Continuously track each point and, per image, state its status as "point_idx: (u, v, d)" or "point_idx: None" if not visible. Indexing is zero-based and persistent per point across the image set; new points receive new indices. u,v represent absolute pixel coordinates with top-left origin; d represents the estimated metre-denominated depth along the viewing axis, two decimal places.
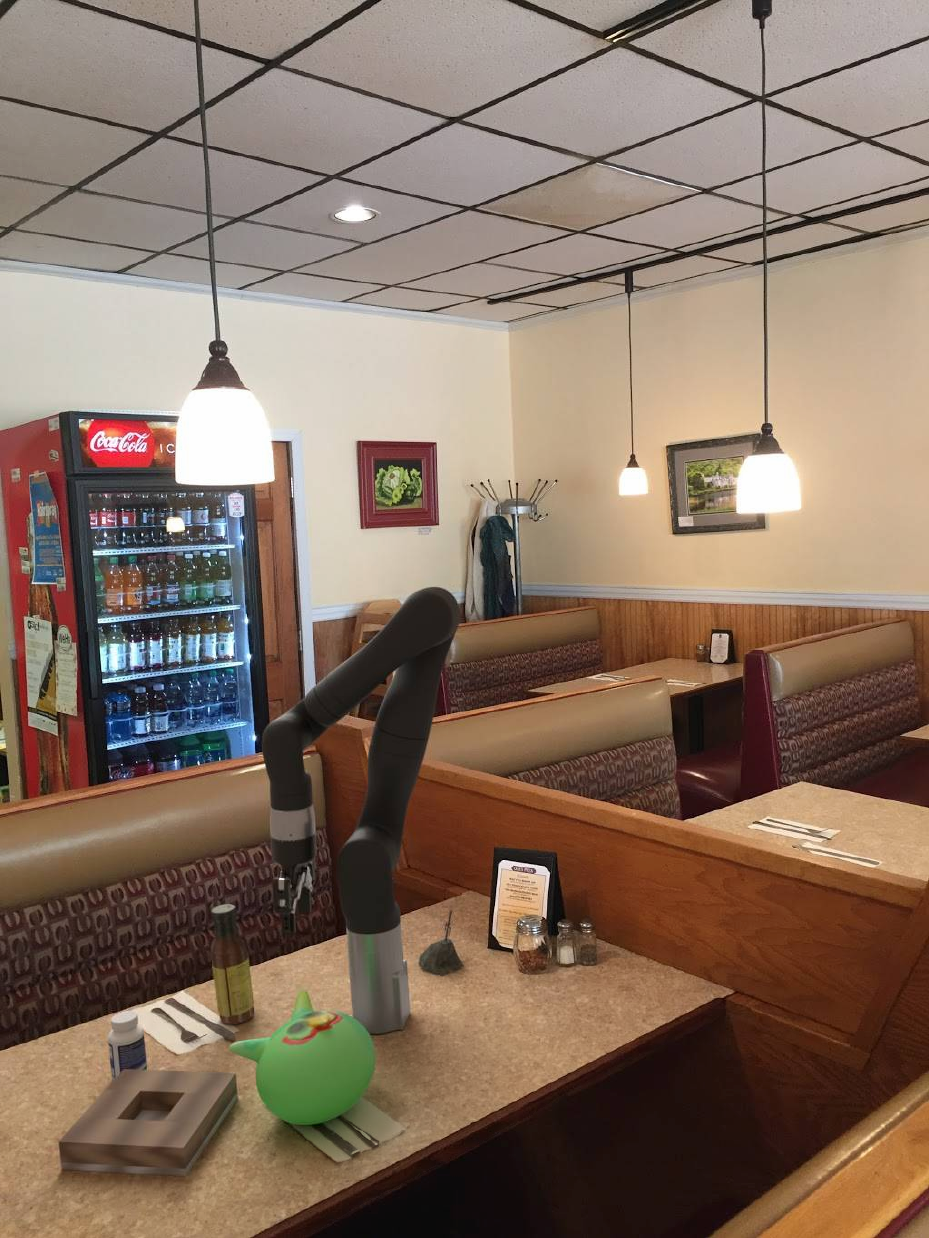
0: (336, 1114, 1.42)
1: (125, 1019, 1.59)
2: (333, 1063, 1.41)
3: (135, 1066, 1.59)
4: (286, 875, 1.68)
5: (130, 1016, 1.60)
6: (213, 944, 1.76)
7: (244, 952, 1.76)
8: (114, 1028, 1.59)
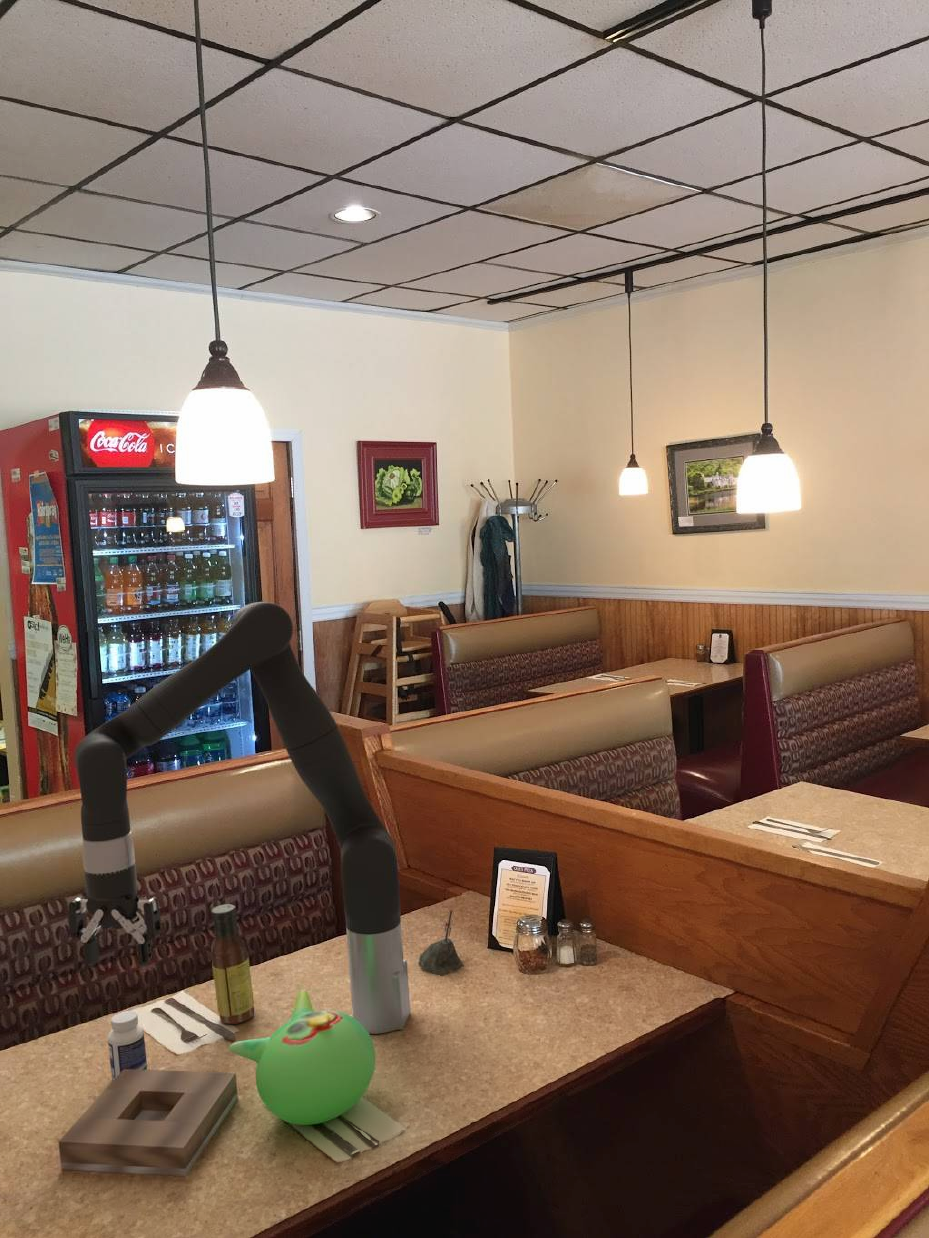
0: (336, 1114, 1.42)
1: (125, 1019, 1.59)
2: (333, 1063, 1.41)
3: (135, 1066, 1.59)
4: (140, 900, 1.58)
5: (130, 1016, 1.60)
6: (213, 944, 1.76)
7: (244, 952, 1.76)
8: (114, 1028, 1.59)
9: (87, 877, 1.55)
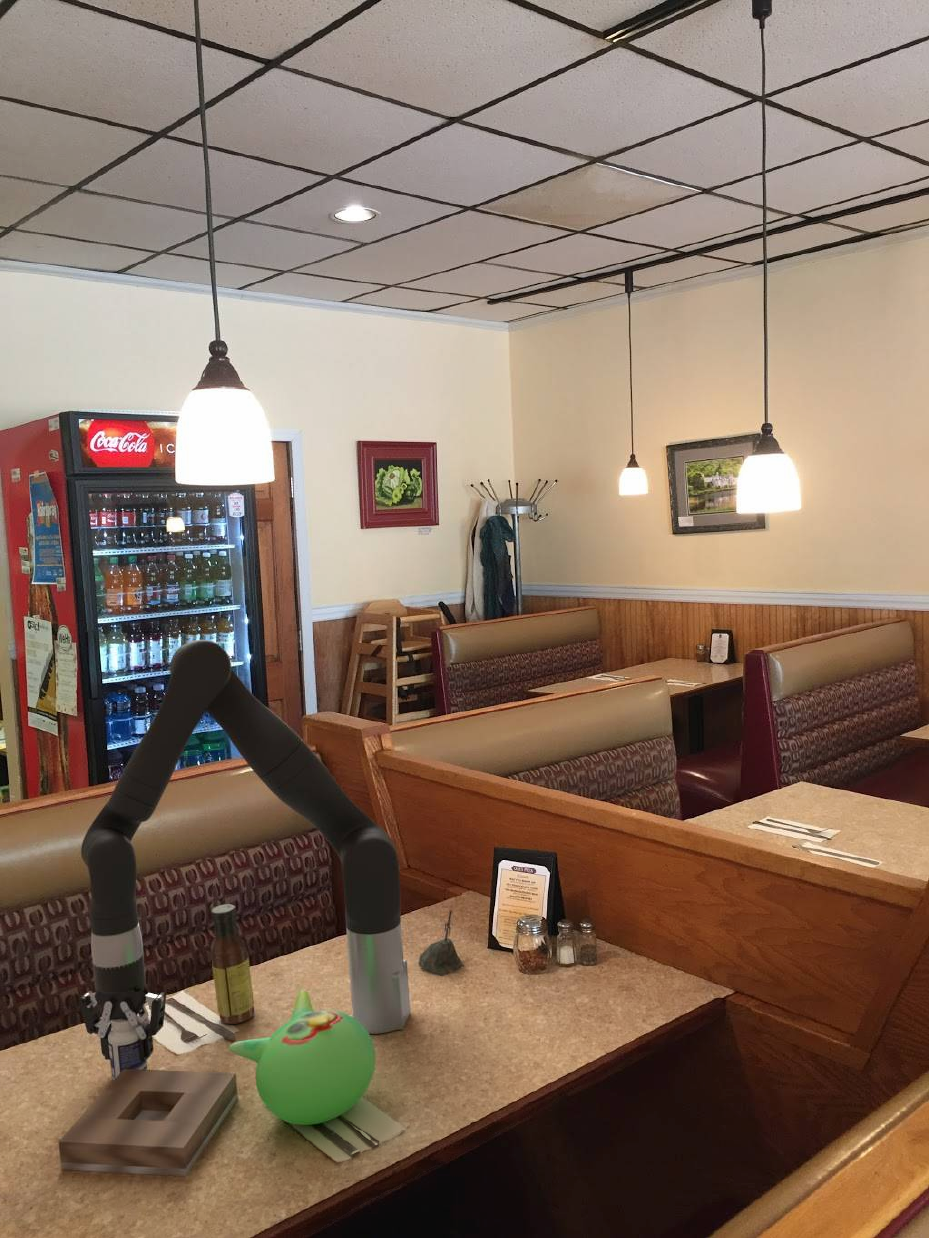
0: (336, 1114, 1.42)
1: None
2: (333, 1063, 1.41)
3: (135, 1066, 1.59)
4: (149, 994, 1.59)
5: None
6: (213, 944, 1.76)
7: (244, 952, 1.76)
8: (114, 1028, 1.59)
9: (96, 970, 1.56)
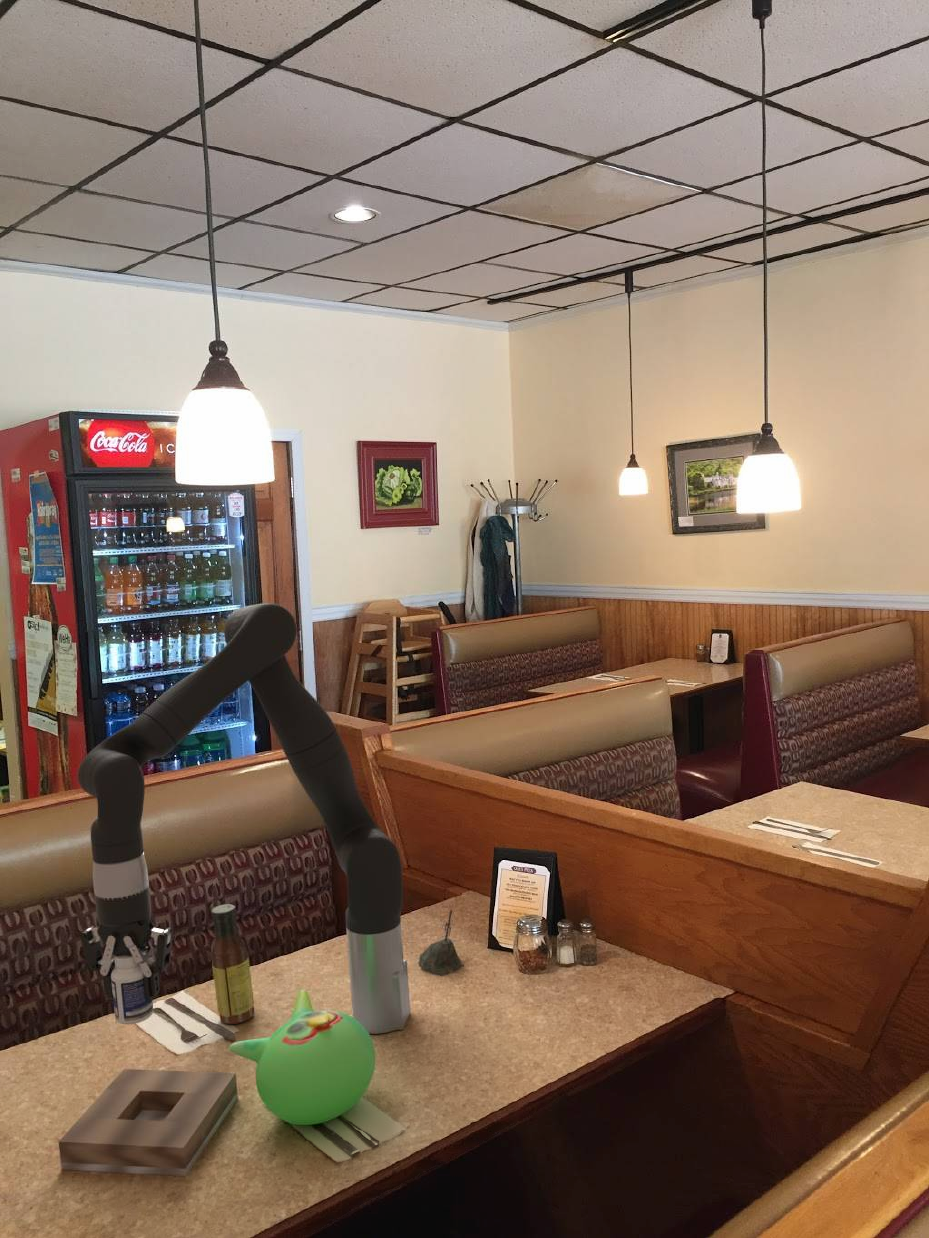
0: (336, 1114, 1.42)
1: None
2: (333, 1063, 1.41)
3: (139, 1006, 1.48)
4: (154, 929, 1.48)
5: None
6: (213, 944, 1.76)
7: (244, 952, 1.76)
8: (117, 964, 1.48)
9: (98, 902, 1.46)
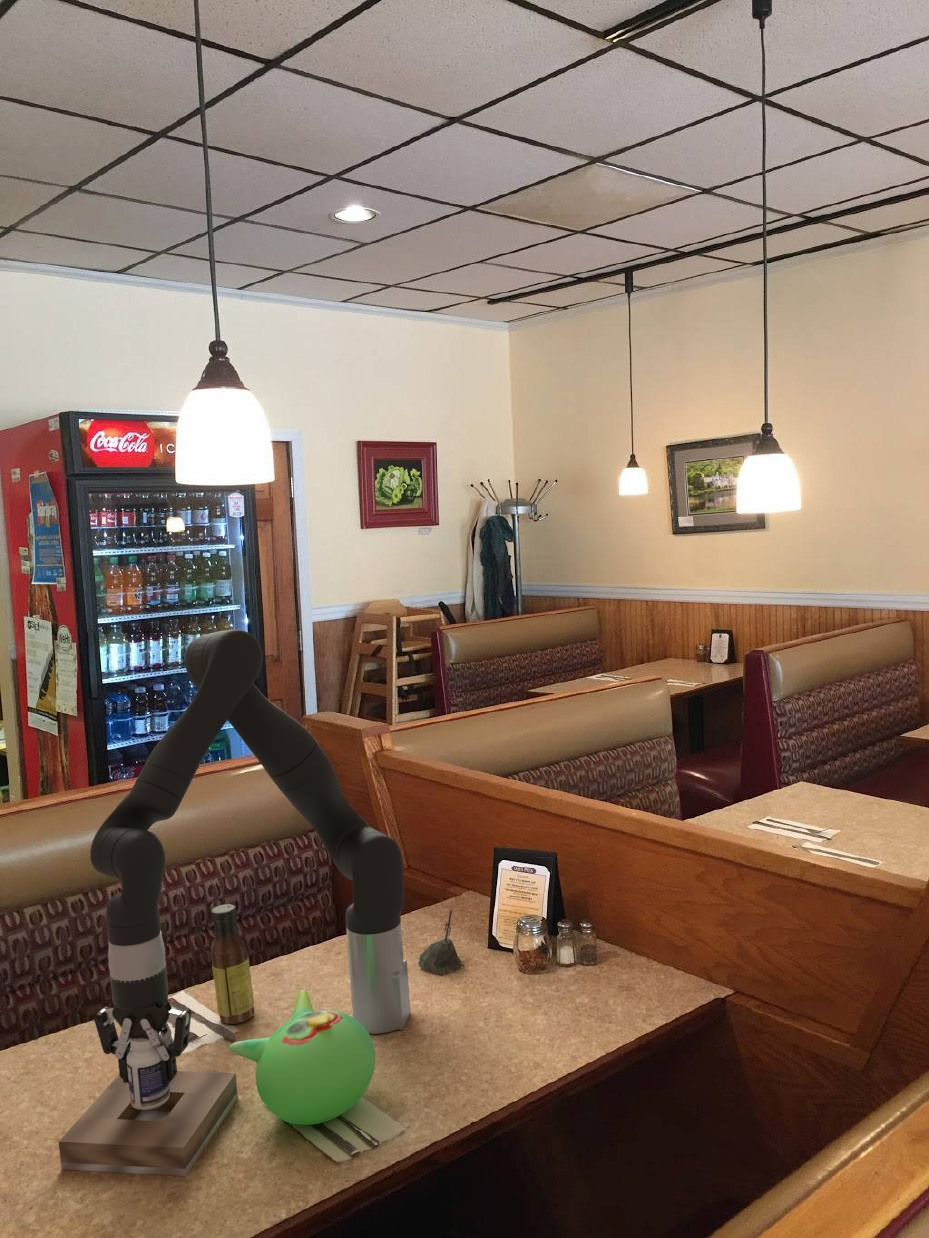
0: (336, 1114, 1.42)
1: None
2: (333, 1063, 1.41)
3: (156, 1091, 1.43)
4: (172, 1010, 1.43)
5: None
6: (213, 944, 1.76)
7: (244, 952, 1.76)
8: (134, 1048, 1.43)
9: (114, 984, 1.41)
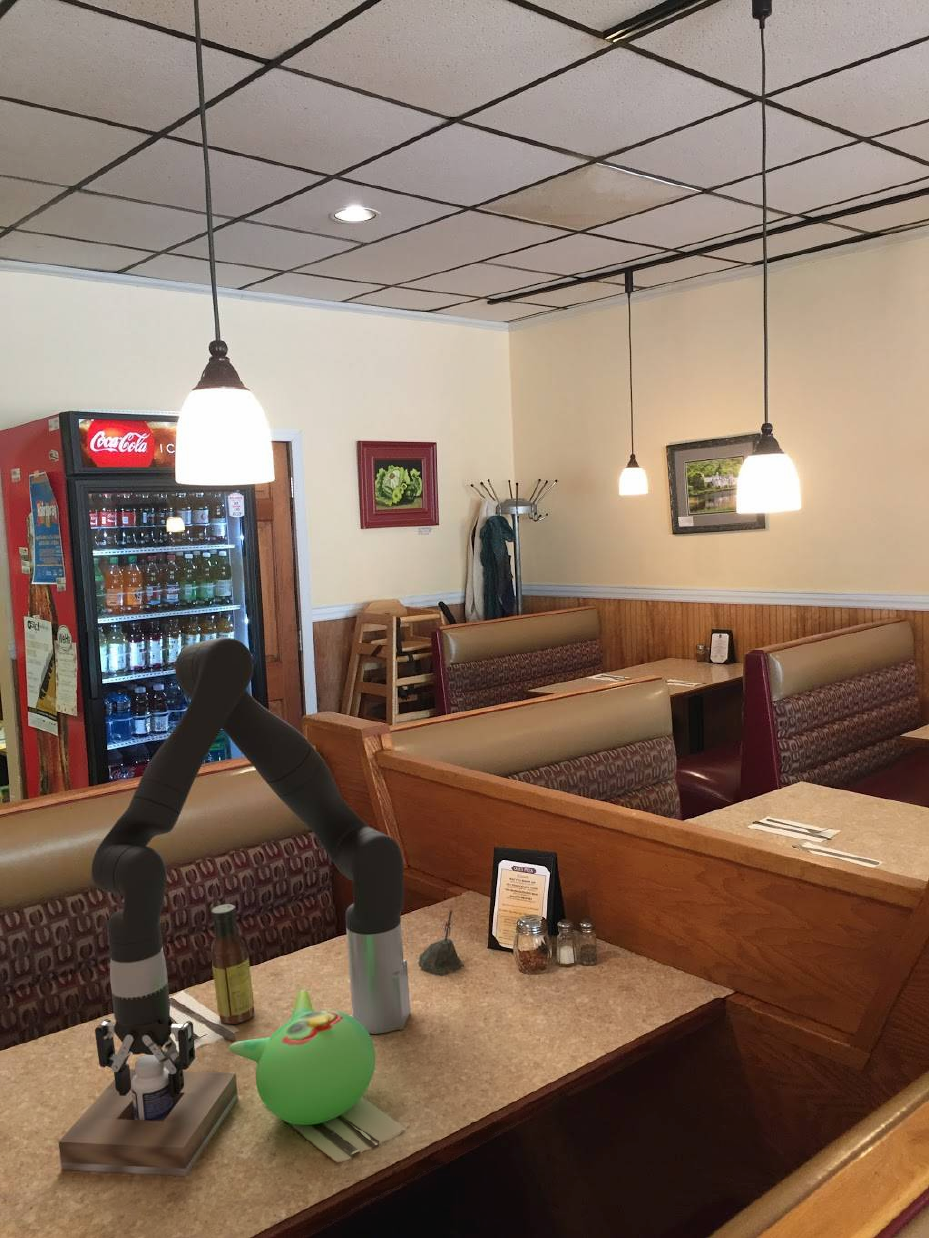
0: (336, 1114, 1.42)
1: (150, 1063, 1.44)
2: (333, 1063, 1.41)
3: (161, 1116, 1.43)
4: (173, 1025, 1.43)
5: (156, 1060, 1.44)
6: (213, 944, 1.76)
7: (244, 952, 1.76)
8: (138, 1073, 1.43)
9: (115, 1001, 1.41)
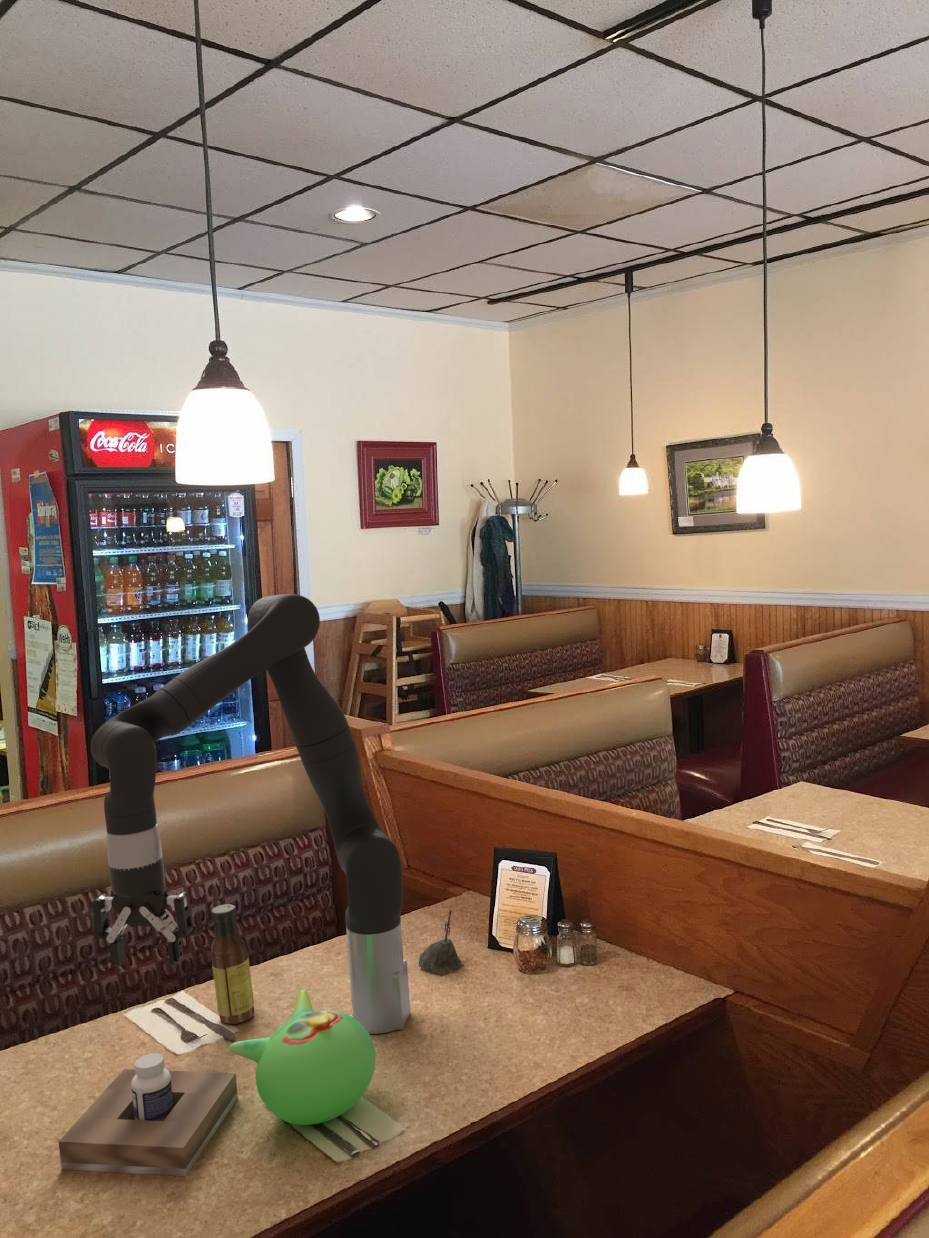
0: (336, 1114, 1.42)
1: (150, 1064, 1.44)
2: (333, 1063, 1.41)
3: (161, 1116, 1.43)
4: (169, 896, 1.49)
5: (156, 1060, 1.44)
6: (213, 944, 1.76)
7: (244, 952, 1.76)
8: (138, 1073, 1.43)
9: (113, 873, 1.46)
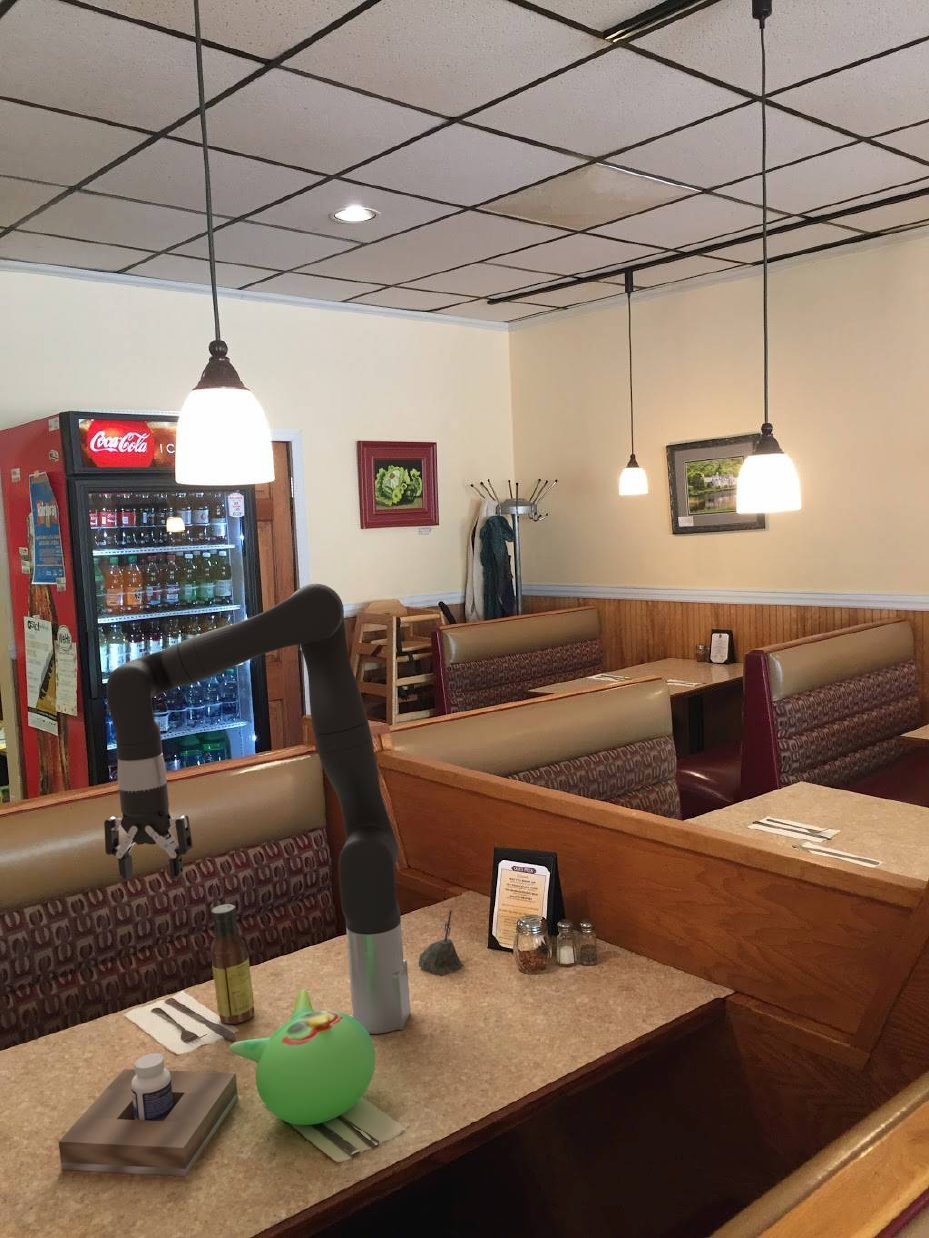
0: (336, 1114, 1.42)
1: (150, 1064, 1.44)
2: (333, 1063, 1.41)
3: (161, 1116, 1.43)
4: (171, 818, 1.67)
5: (156, 1060, 1.44)
6: (213, 944, 1.76)
7: (244, 952, 1.76)
8: (138, 1073, 1.43)
9: (122, 795, 1.65)
